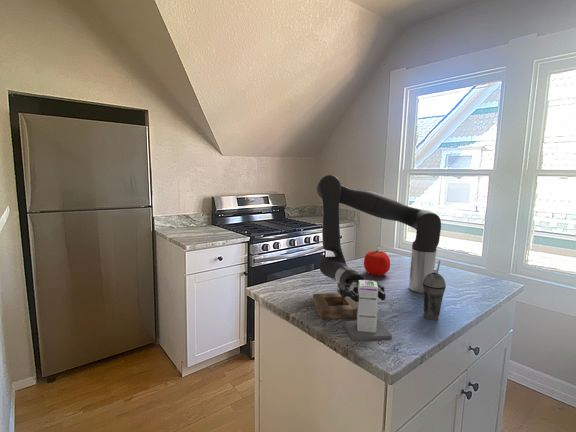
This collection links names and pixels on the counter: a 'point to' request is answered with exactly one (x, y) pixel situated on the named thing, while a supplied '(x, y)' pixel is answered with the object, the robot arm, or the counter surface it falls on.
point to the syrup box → (367, 306)
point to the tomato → (376, 263)
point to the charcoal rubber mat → (359, 335)
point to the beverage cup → (433, 294)
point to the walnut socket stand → (334, 311)
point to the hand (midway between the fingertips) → (371, 298)
